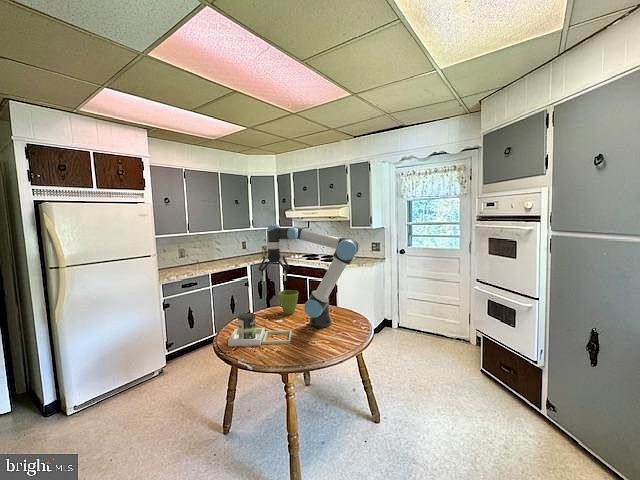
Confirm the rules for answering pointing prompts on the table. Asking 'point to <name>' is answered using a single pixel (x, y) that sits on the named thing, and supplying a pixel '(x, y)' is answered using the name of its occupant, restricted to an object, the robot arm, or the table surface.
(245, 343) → the bin
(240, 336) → the coffee can
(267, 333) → the frame
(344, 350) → the table surface
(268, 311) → the table surface
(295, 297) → the flower pot
